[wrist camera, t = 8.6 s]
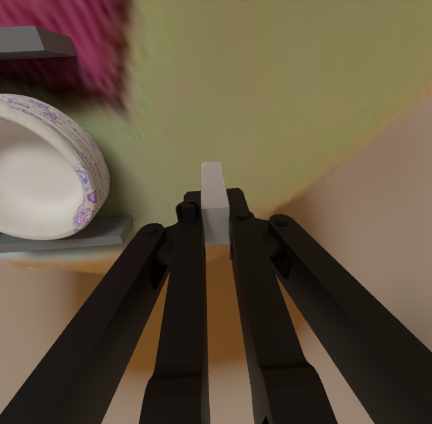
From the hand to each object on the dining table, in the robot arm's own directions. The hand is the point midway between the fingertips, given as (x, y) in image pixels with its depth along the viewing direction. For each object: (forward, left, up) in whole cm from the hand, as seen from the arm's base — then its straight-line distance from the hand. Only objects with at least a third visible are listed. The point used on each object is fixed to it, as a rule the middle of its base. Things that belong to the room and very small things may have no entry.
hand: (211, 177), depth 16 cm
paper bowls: (+1, -20, -12) cm, 23 cm away
